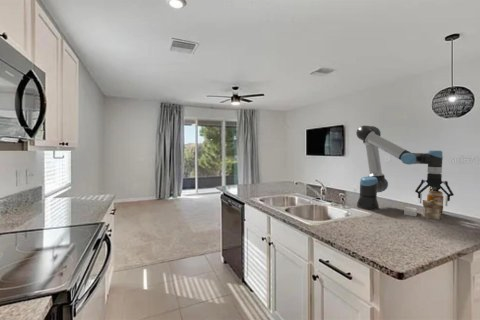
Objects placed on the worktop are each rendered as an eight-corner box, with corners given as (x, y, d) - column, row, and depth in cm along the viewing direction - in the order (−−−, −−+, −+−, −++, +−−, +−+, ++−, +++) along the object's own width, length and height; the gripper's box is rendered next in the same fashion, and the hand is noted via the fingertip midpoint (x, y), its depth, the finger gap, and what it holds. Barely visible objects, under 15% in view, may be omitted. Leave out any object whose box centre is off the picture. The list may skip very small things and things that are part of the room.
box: (424, 217, 160) (425, 207, 160) (423, 213, 169) (424, 204, 169) (440, 219, 156) (440, 209, 155) (438, 215, 165) (439, 205, 164)
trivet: (403, 214, 166) (404, 210, 166) (404, 210, 177) (404, 206, 177) (416, 216, 162) (416, 212, 162) (415, 212, 173) (416, 208, 173)
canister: (429, 214, 168) (431, 186, 167) (422, 210, 179) (424, 183, 178) (445, 215, 166) (446, 187, 164) (437, 211, 176) (438, 184, 175)
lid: (423, 207, 160) (423, 201, 159) (422, 203, 170) (422, 197, 170) (443, 209, 154) (443, 203, 154) (440, 205, 165) (441, 199, 164)
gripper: (411, 172, 165) (410, 202, 166) (460, 174, 150) (458, 208, 151) (411, 171, 171) (410, 200, 172) (458, 174, 157) (456, 205, 158)
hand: (433, 204), depth 162 cm, fingers open, 13 cm apart
